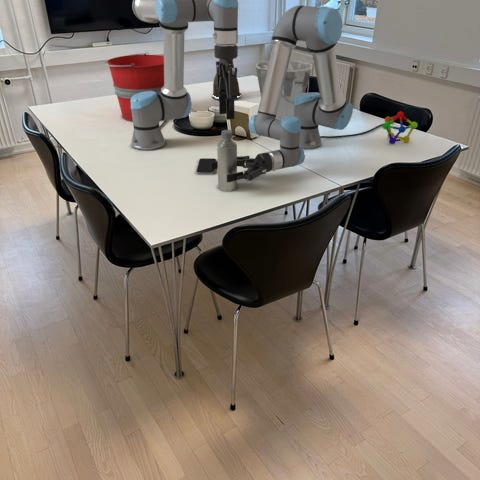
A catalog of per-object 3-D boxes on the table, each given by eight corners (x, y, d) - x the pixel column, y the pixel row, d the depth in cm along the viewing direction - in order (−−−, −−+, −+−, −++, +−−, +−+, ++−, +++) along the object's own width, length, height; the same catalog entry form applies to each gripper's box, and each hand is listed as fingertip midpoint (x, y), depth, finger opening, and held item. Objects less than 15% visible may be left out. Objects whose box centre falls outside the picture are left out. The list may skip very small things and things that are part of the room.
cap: (234, 138, 157) (234, 132, 156) (223, 139, 156) (223, 133, 155) (229, 135, 160) (229, 129, 159) (219, 136, 159) (219, 130, 158)
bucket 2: (281, 130, 226) (284, 73, 211) (242, 117, 244) (243, 64, 230) (319, 119, 242) (324, 65, 228) (280, 107, 261) (283, 57, 246)
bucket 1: (121, 106, 263) (114, 51, 247) (180, 106, 262) (176, 52, 246) (104, 123, 233) (95, 63, 217) (170, 124, 232) (166, 64, 216)
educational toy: (377, 146, 209) (379, 114, 202) (384, 138, 219) (386, 107, 211) (411, 149, 202) (415, 116, 195) (417, 141, 212) (420, 109, 204)
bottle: (239, 189, 167) (240, 134, 155) (222, 192, 164) (221, 136, 153) (232, 182, 172) (232, 128, 161) (215, 185, 170) (214, 130, 158)
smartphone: (196, 172, 178) (199, 158, 191) (196, 173, 178) (199, 159, 191) (214, 172, 178) (216, 158, 191) (214, 174, 178) (216, 159, 191)
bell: (227, 105, 294) (202, 96, 282) (238, 66, 289) (213, 55, 277) (243, 108, 280) (217, 98, 268) (255, 66, 275) (229, 55, 263)
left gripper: (205, 40, 148) (207, 110, 160) (225, 49, 133) (226, 125, 145) (226, 39, 150) (227, 108, 163) (248, 48, 135) (247, 122, 148)
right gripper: (285, 182, 165) (234, 194, 156) (252, 160, 183) (205, 170, 174) (286, 163, 161) (234, 174, 152) (252, 143, 179) (204, 152, 170)
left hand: (226, 116), depth 154 cm, fingers open, 6 cm apart
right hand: (218, 172), depth 163 cm, fingers open, 12 cm apart
